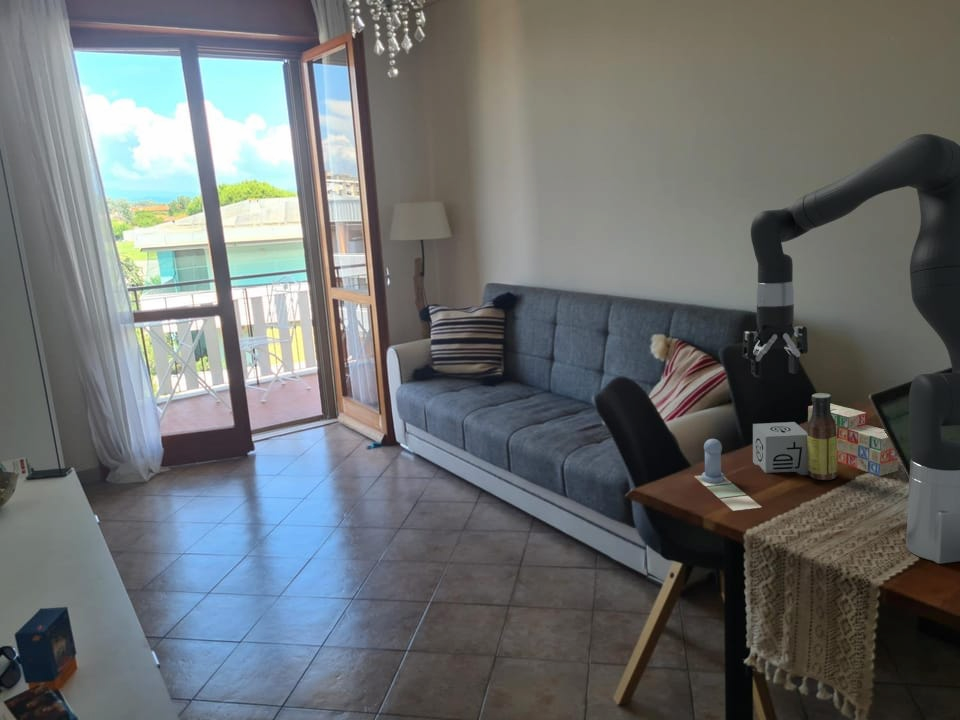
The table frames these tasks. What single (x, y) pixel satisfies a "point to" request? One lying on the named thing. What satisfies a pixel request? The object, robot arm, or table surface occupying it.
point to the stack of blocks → (861, 442)
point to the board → (730, 495)
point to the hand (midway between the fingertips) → (775, 375)
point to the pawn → (712, 462)
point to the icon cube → (780, 447)
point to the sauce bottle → (822, 439)
